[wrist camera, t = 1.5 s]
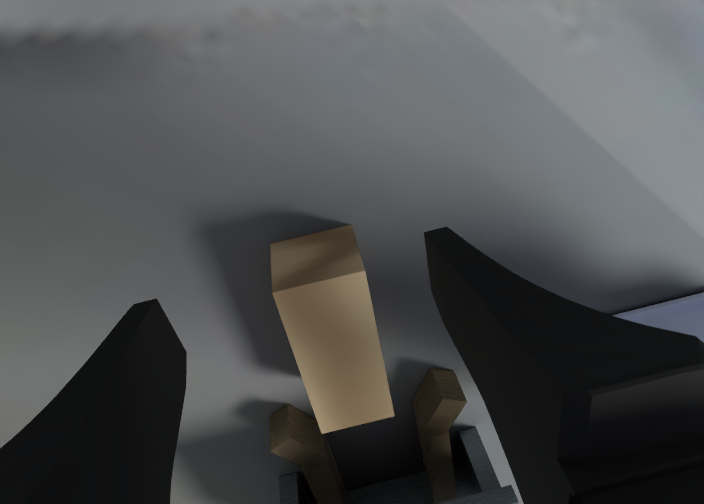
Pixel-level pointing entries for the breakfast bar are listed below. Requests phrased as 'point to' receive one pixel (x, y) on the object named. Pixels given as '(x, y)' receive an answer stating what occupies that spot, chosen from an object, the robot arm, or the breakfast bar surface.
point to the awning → (405, 492)
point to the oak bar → (331, 327)
